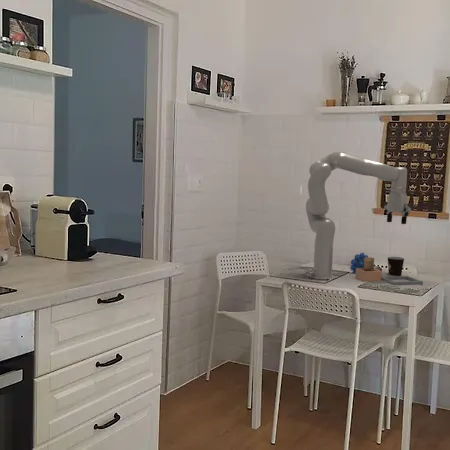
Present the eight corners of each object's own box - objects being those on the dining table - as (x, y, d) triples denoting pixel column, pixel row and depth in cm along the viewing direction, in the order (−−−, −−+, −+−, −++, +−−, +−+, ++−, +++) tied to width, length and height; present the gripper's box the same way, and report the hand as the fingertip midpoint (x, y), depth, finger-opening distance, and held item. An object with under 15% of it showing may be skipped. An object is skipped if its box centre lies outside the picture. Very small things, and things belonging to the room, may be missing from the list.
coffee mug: (403, 278, 329) (404, 259, 328) (387, 277, 331) (388, 258, 330) (402, 274, 341) (403, 256, 340) (385, 273, 342) (386, 255, 341)
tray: (393, 287, 306) (393, 282, 306) (379, 281, 319) (379, 276, 319) (422, 286, 310) (422, 281, 310) (407, 280, 323) (407, 275, 323)
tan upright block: (366, 280, 316) (367, 259, 315) (361, 278, 321) (362, 257, 319) (374, 280, 317) (376, 258, 316) (370, 278, 322) (371, 257, 321)
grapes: (363, 272, 343) (365, 251, 342) (371, 274, 337) (372, 252, 336) (345, 273, 339) (346, 251, 338) (352, 275, 333) (353, 253, 332)
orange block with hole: (363, 283, 313) (364, 271, 313) (355, 279, 322) (356, 268, 322) (380, 282, 316) (381, 271, 315) (372, 279, 325) (372, 267, 324)
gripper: (381, 189, 333) (379, 221, 335) (406, 191, 319) (404, 225, 321) (390, 189, 337) (388, 221, 339) (416, 191, 323) (414, 224, 325)
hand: (396, 223), depth 330 cm, fingers open, 9 cm apart
